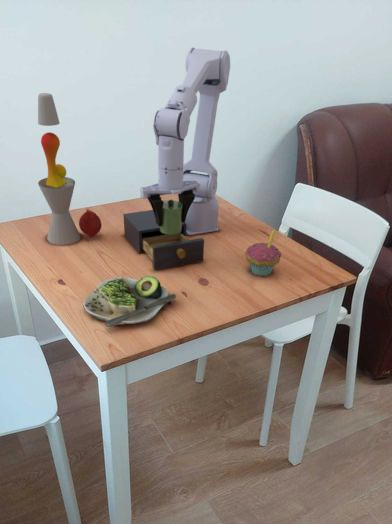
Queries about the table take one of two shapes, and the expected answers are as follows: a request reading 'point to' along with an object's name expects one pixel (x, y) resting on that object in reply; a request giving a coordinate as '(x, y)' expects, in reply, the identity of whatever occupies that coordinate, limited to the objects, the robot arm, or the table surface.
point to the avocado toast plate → (127, 300)
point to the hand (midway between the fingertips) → (170, 222)
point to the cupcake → (263, 257)
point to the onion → (90, 223)
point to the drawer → (173, 250)
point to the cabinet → (142, 227)
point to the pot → (171, 217)
